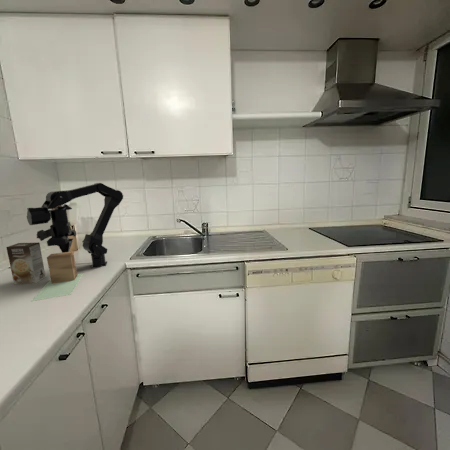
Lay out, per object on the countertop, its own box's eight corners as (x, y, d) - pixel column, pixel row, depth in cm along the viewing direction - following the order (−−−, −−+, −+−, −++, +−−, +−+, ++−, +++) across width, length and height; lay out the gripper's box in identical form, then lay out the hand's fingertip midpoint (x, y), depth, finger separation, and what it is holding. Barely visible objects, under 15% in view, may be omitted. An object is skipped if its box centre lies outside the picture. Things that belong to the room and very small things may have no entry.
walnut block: (55, 279, 99) (51, 254, 97) (77, 275, 102) (73, 251, 100) (51, 283, 95) (46, 257, 93) (74, 280, 97) (70, 254, 95)
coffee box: (13, 285, 96) (4, 247, 93) (25, 278, 102) (18, 242, 100) (36, 283, 96) (28, 245, 93) (47, 277, 103) (40, 241, 100)
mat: (52, 278, 101) (52, 277, 101) (84, 273, 105) (83, 272, 105) (30, 302, 81) (30, 301, 81) (71, 295, 85) (71, 294, 85)
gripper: (45, 219, 106) (51, 253, 109) (27, 226, 89) (35, 266, 92) (74, 217, 110) (79, 249, 113) (61, 223, 93) (68, 261, 96)
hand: (66, 256), depth 103 cm, fingers closed
